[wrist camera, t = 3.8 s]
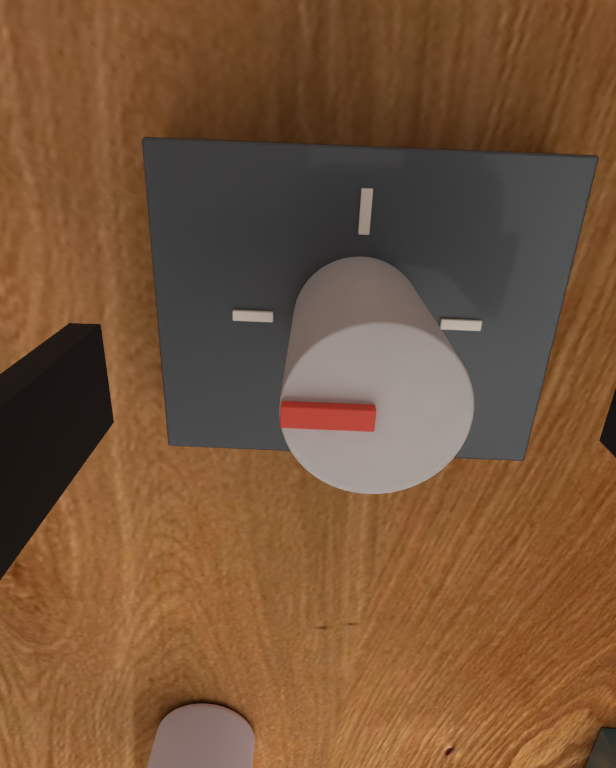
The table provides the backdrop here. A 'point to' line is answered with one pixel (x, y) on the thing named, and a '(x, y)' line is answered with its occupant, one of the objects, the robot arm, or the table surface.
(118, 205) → the table surface
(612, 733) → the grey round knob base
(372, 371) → the tap dial
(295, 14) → the table surface
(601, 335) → the table surface
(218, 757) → the spray bottle
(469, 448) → the dial base
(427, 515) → the table surface
